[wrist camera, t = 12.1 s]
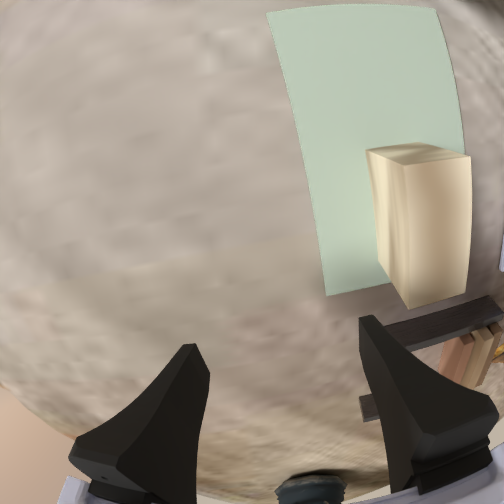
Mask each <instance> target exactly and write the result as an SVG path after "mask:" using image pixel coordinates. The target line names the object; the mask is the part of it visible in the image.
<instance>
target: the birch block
mask: <svg viewBox="0 0 504 504" xmlns="http://www.w3.org/2000/svg"><path fill="white" fill-rule="evenodd" d="M365 153H366V159H367V165H368V171H369V178H370V185H371V192H372V200H373V208H374V217H375V227H376V238H377V251H378V261H379V263H380V264H381V266H382V268H383V269H384V271H385V272H386V274H387V275H388V277H389V279H390V280H391V282H392V283H393V285H394V287H395V288H396V290H397V292H398V293H399V295H400V296H401V298H402V300H403V301H404V303H405V305H406V307H407V308H408V310H410V309H414V308H417V307H421V306H424V305H428V304H431V303H434V302H438V301H441V300H444V299H447V298H451V297H454V296H457V295H460V294H463V293H465V289H466V281H467V274H468V265H469V255H470V242H471V224H472V176H471V158H470V156H467V155H464V154H461V153H457V152H454V151H451V150H447V149H444V148H440V147H437V146H433V145H429V144H425V143H421V142H413V143H405V144H398V145H391V146H384V147H378V148H371V149H365Z"/></svg>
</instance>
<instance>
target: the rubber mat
mask: <svg viewBox="0 0 504 504" xmlns="http://www.w3.org/2000/svg"><path fill="white" fill-rule="evenodd" d="M266 16H267V20H268V23H269V26H270V29H271V33H272V36H273V40H274V43H275V46H276V50H277V54H278V57H279V61H280V64H281V68H282V72H283V76H284V79H285V83H286V87H287V91H288V95H289V99H290V103H291V107H292V111H293V116H294V120H295V124H296V129H297V133H298V137H299V142H300V147H301V151H302V156H303V161H304V166H305V171H306V176H307V181H308V186H309V191H310V196H311V202H312V207H313V213H314V219H315V225H316V231H317V237H318V243H319V249H320V256H321V262H322V269H323V276H324V284H325V291H326V296H329V295H334V294H339V293H344V292H349V291H354V290H359V289H363V288H368V287H373V286H377V285H382V284H386V283H390V282H391V280H390V279H389V277H388V275H387V274H386V272H385V271H384V269H383V268H382V266H381V264H380V263H379V261H378V251H377V238H376V227H375V217H374V208H373V200H372V192H371V185H370V178H369V171H368V165H367V159H366V153H365V149H371V148H378V147H384V146H391V145H398V144H405V143H413V142H421V143H425V144H429V145H433V146H437V147H440V148H444V149H447V150H451V151H454V152H457V153H461V154H464V155H465V151H464V140H463V130H462V121H461V114H460V107H459V101H458V95H457V89H456V84H455V79H454V74H453V70H452V65H451V61H450V57H449V53H448V49H447V46H446V42H445V39H444V35H443V32H442V29H441V26H440V22H439V19H438V16H437V14H436V11H435V9H434V8H426V7H417V6H406V5H391V4H338V5H323V6H312V7H302V8H294V9H287V10H281V11H274V12H269V13H266Z"/></svg>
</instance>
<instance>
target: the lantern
mask: <svg viewBox="0 0 504 504" xmlns="http://www.w3.org/2000/svg"><path fill="white" fill-rule="evenodd" d="M346 486H347V484H346V483H345V482H344V481H342V480H341V479H340V478H339V477H337V476H334V475H308V476H303V477H298V478H293V479H289V480H287V481H285V482H284V483H283V484H282V485H280V486H279V487H278V488H277V489H276V490H275V493H276V495H277V496H279V497H278V499H277V500H279V504H341V502H342V501H344V494H345V492H344V489H345V488H346Z"/></svg>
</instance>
